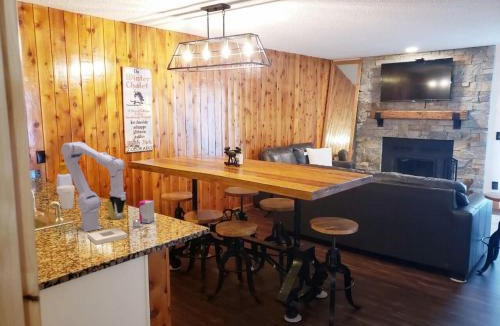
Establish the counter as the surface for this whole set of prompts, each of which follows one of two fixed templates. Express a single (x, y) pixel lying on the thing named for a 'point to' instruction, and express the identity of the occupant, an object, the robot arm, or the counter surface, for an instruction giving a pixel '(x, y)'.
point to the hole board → (107, 236)
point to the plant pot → (111, 209)
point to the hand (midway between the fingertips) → (118, 212)
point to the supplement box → (146, 211)
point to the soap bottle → (63, 177)
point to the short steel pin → (136, 223)
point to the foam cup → (66, 196)
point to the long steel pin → (118, 215)
